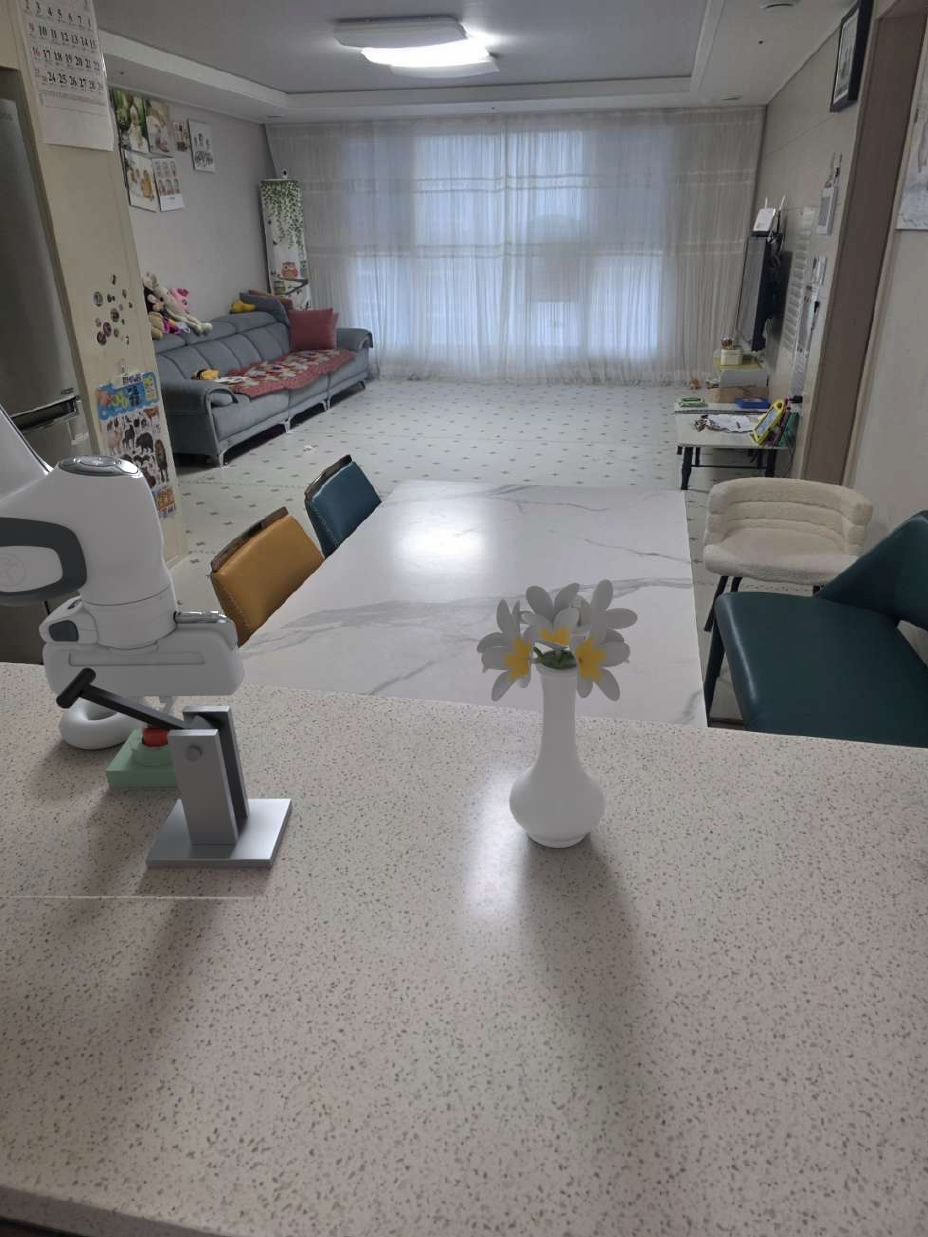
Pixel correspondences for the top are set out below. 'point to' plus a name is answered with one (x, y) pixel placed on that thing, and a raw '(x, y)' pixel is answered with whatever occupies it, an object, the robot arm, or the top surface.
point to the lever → (126, 705)
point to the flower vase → (558, 700)
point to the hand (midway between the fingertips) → (159, 725)
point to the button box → (141, 765)
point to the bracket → (215, 804)
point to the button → (155, 737)
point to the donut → (95, 726)
